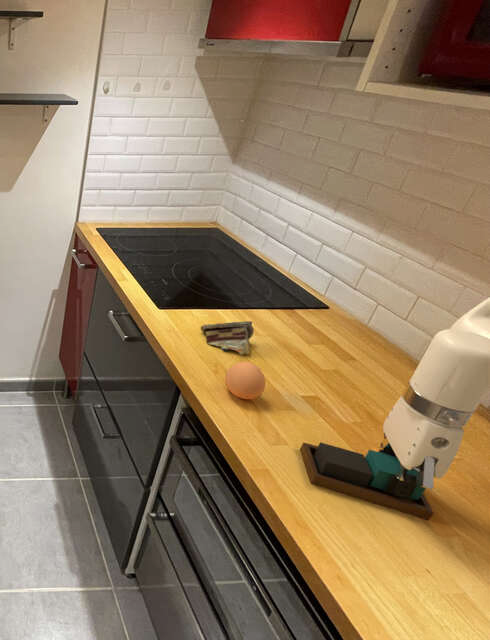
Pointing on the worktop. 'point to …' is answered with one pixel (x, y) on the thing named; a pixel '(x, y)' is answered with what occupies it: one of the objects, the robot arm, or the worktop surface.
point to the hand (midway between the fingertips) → (389, 480)
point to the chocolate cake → (230, 335)
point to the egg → (245, 380)
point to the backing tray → (364, 489)
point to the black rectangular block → (342, 465)
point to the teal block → (387, 471)
